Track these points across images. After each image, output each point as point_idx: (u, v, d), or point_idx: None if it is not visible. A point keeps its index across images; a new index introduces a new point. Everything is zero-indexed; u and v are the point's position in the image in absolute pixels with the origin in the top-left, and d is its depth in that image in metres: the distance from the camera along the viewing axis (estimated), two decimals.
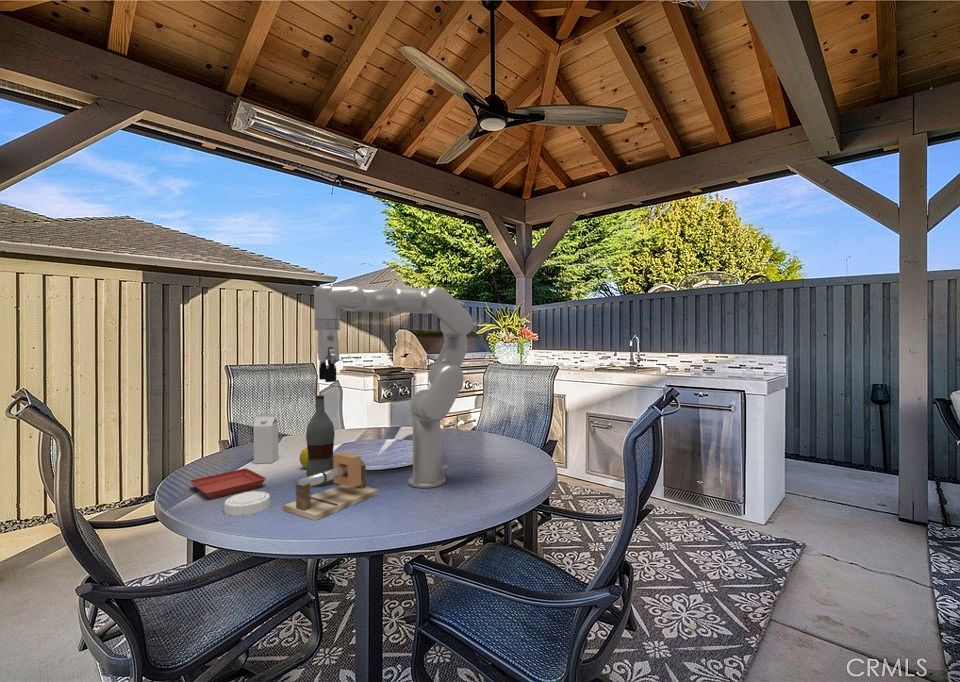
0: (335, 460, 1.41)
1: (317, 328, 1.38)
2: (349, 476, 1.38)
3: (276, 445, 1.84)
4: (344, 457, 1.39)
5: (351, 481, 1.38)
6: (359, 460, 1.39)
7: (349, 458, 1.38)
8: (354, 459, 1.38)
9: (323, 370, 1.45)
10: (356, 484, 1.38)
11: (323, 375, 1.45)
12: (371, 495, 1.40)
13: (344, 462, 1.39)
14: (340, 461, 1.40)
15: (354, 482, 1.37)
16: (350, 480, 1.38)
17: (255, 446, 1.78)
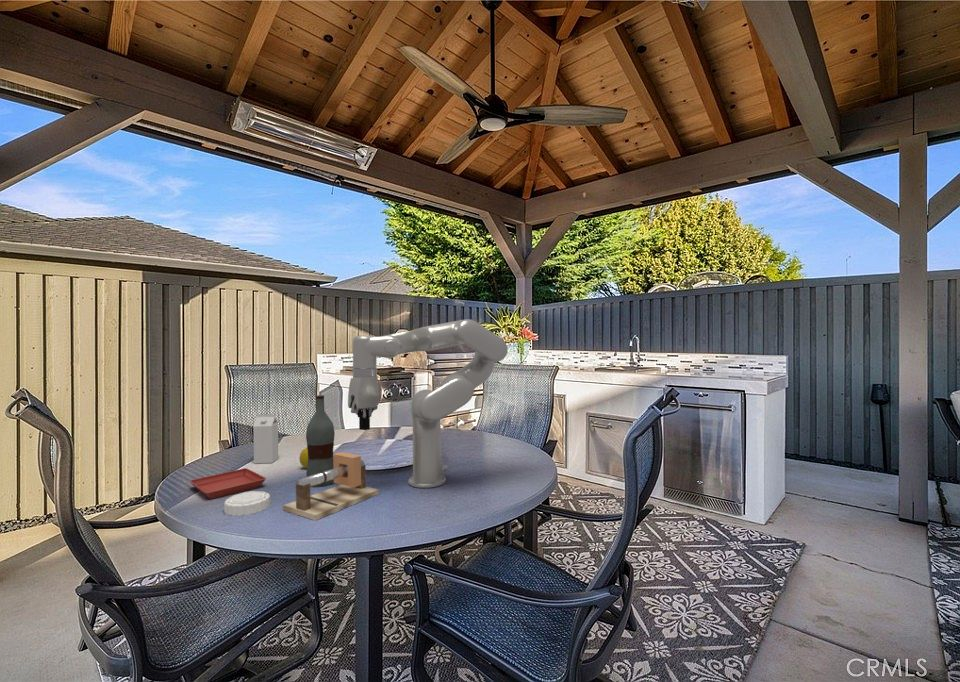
0: (335, 460, 1.41)
1: (375, 376, 1.47)
2: (349, 476, 1.38)
3: (276, 445, 1.84)
4: (344, 457, 1.39)
5: (351, 481, 1.38)
6: (359, 460, 1.39)
7: (349, 458, 1.38)
8: (354, 459, 1.38)
9: None
10: (356, 484, 1.38)
11: None
12: (371, 495, 1.40)
13: (344, 462, 1.39)
14: (340, 461, 1.40)
15: (354, 482, 1.37)
16: (350, 480, 1.38)
17: (255, 446, 1.78)
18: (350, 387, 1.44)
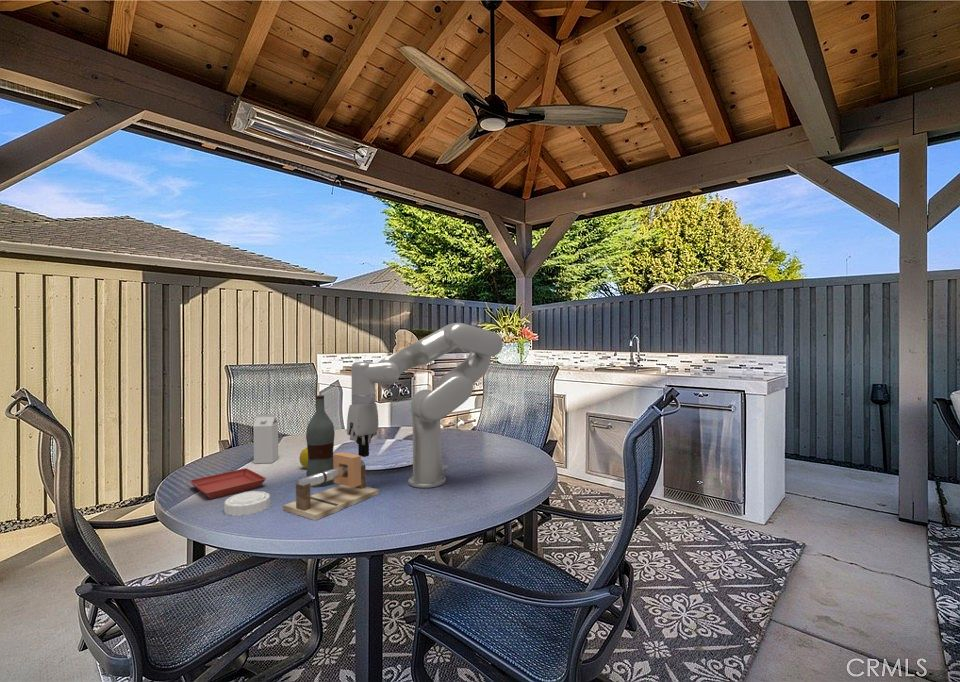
0: (335, 460, 1.41)
1: (374, 402, 1.47)
2: (349, 476, 1.38)
3: (276, 445, 1.84)
4: (344, 457, 1.39)
5: (351, 481, 1.38)
6: (359, 460, 1.39)
7: (349, 458, 1.38)
8: (354, 459, 1.38)
9: None
10: (356, 484, 1.38)
11: None
12: (371, 495, 1.40)
13: (344, 462, 1.39)
14: (340, 461, 1.40)
15: (354, 482, 1.37)
16: (350, 480, 1.38)
17: (255, 446, 1.78)
18: (349, 414, 1.43)
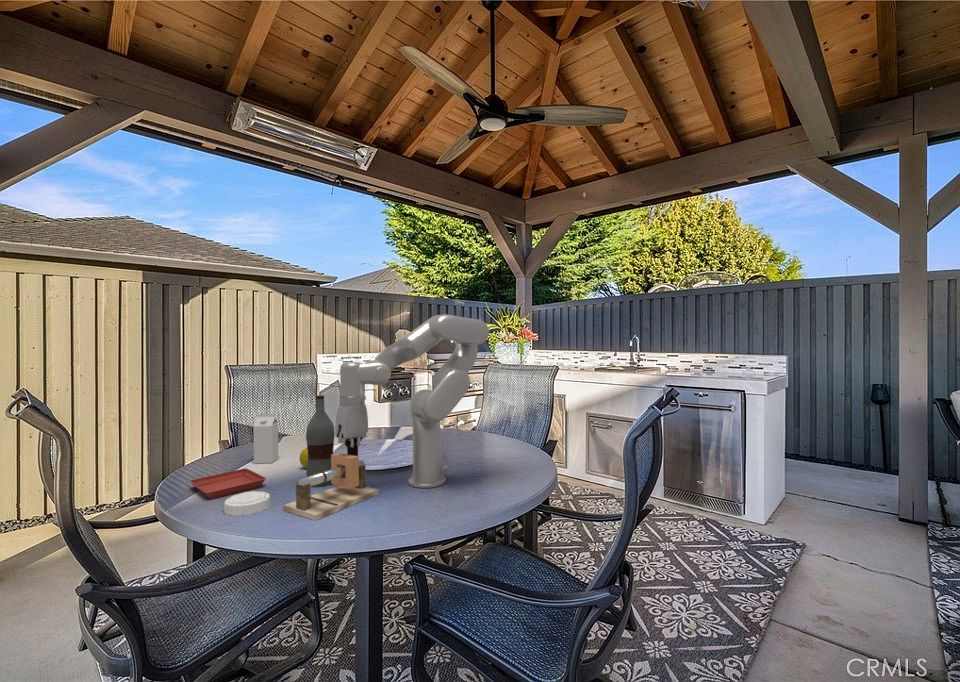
0: (333, 461, 1.41)
1: (364, 404, 1.43)
2: (347, 477, 1.37)
3: (276, 445, 1.84)
4: (342, 458, 1.38)
5: (348, 482, 1.37)
6: (357, 461, 1.38)
7: (347, 459, 1.37)
8: (352, 460, 1.37)
9: None
10: (354, 485, 1.37)
11: None
12: (371, 495, 1.40)
13: (342, 463, 1.38)
14: (338, 462, 1.39)
15: (351, 483, 1.37)
16: (348, 481, 1.37)
17: (255, 446, 1.78)
18: (337, 416, 1.40)
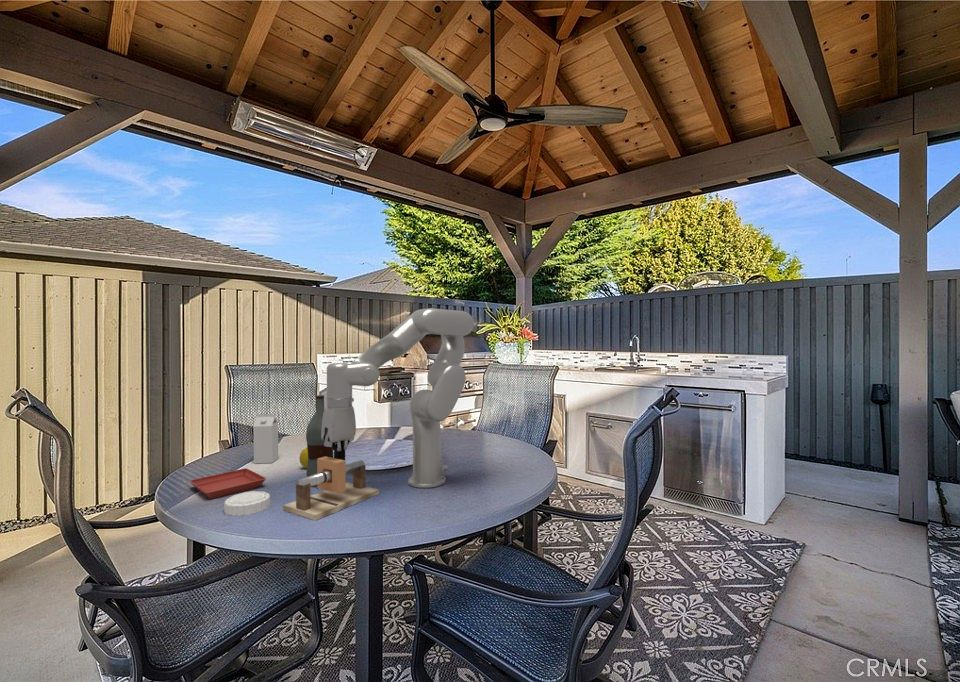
0: (319, 465, 1.36)
1: (351, 406, 1.38)
2: (333, 482, 1.33)
3: (276, 445, 1.84)
4: (328, 462, 1.34)
5: (335, 486, 1.33)
6: (344, 465, 1.34)
7: (333, 463, 1.33)
8: (338, 464, 1.32)
9: None
10: (340, 490, 1.33)
11: None
12: (371, 495, 1.40)
13: (328, 467, 1.34)
14: (324, 466, 1.35)
15: (338, 487, 1.32)
16: (334, 486, 1.33)
17: (255, 446, 1.78)
18: (323, 419, 1.35)
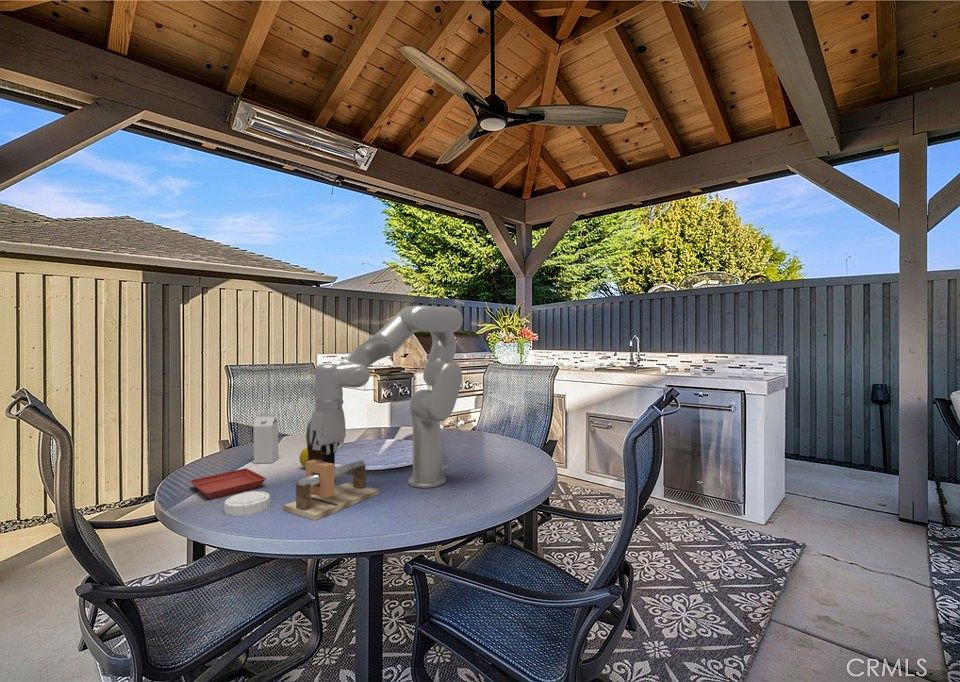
0: (307, 468, 1.33)
1: (340, 408, 1.35)
2: (321, 486, 1.29)
3: (276, 445, 1.84)
4: (316, 465, 1.30)
5: (323, 491, 1.29)
6: (332, 468, 1.31)
7: (321, 466, 1.29)
8: (327, 467, 1.29)
9: None
10: (329, 494, 1.29)
11: None
12: (371, 495, 1.40)
13: (316, 471, 1.31)
14: (312, 469, 1.31)
15: (326, 492, 1.29)
16: (323, 490, 1.29)
17: (255, 446, 1.78)
18: (312, 421, 1.31)
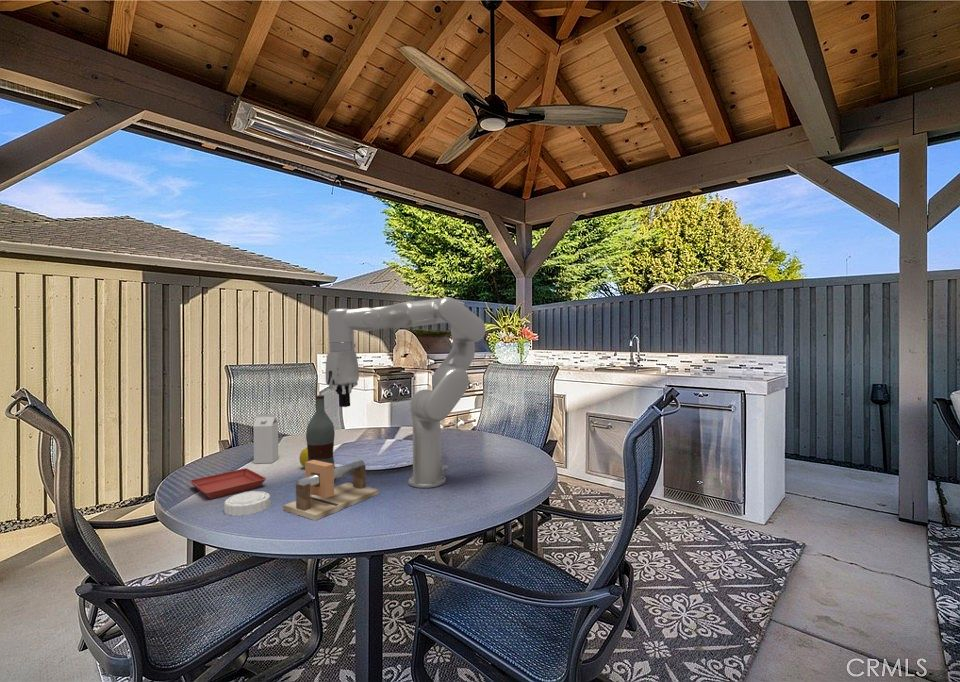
0: (307, 468, 1.32)
1: (353, 350, 1.41)
2: (321, 486, 1.29)
3: (276, 445, 1.84)
4: (316, 465, 1.30)
5: (323, 491, 1.29)
6: (332, 469, 1.30)
7: (321, 466, 1.29)
8: (326, 468, 1.29)
9: None
10: (328, 494, 1.29)
11: None
12: (371, 495, 1.40)
13: (316, 471, 1.30)
14: (312, 470, 1.31)
15: (326, 492, 1.29)
16: (322, 490, 1.29)
17: (255, 446, 1.78)
18: (327, 363, 1.38)
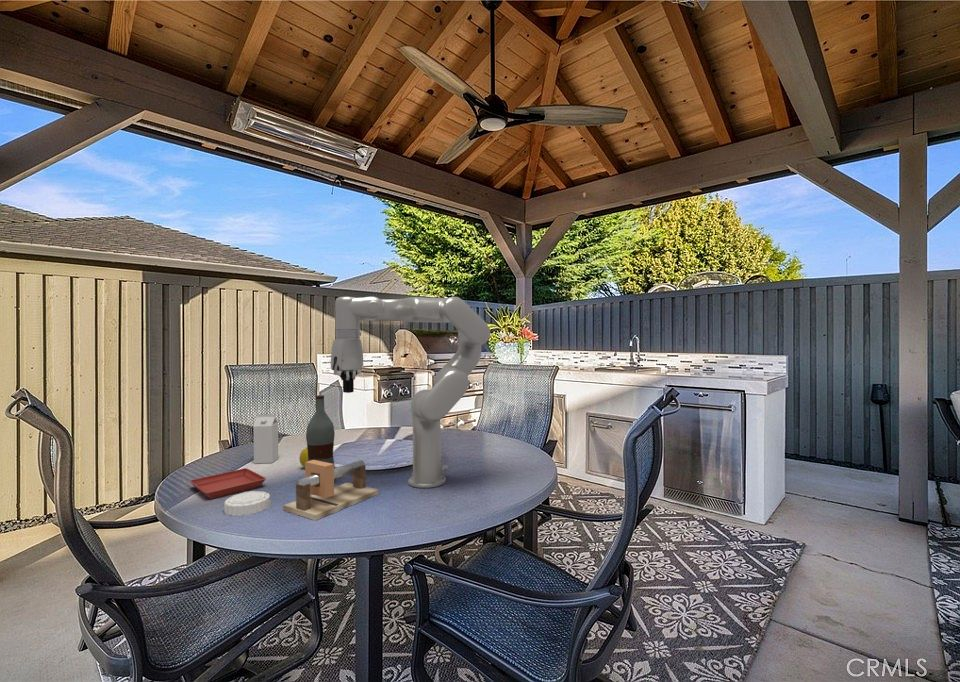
0: (307, 468, 1.32)
1: (359, 338, 1.45)
2: (321, 486, 1.29)
3: (276, 445, 1.84)
4: (316, 465, 1.30)
5: (323, 491, 1.29)
6: (332, 469, 1.30)
7: (321, 466, 1.29)
8: (326, 468, 1.29)
9: None
10: (328, 494, 1.29)
11: None
12: (371, 495, 1.40)
13: (316, 471, 1.30)
14: (312, 470, 1.31)
15: (326, 492, 1.29)
16: (322, 490, 1.29)
17: (255, 446, 1.78)
18: (333, 349, 1.42)
